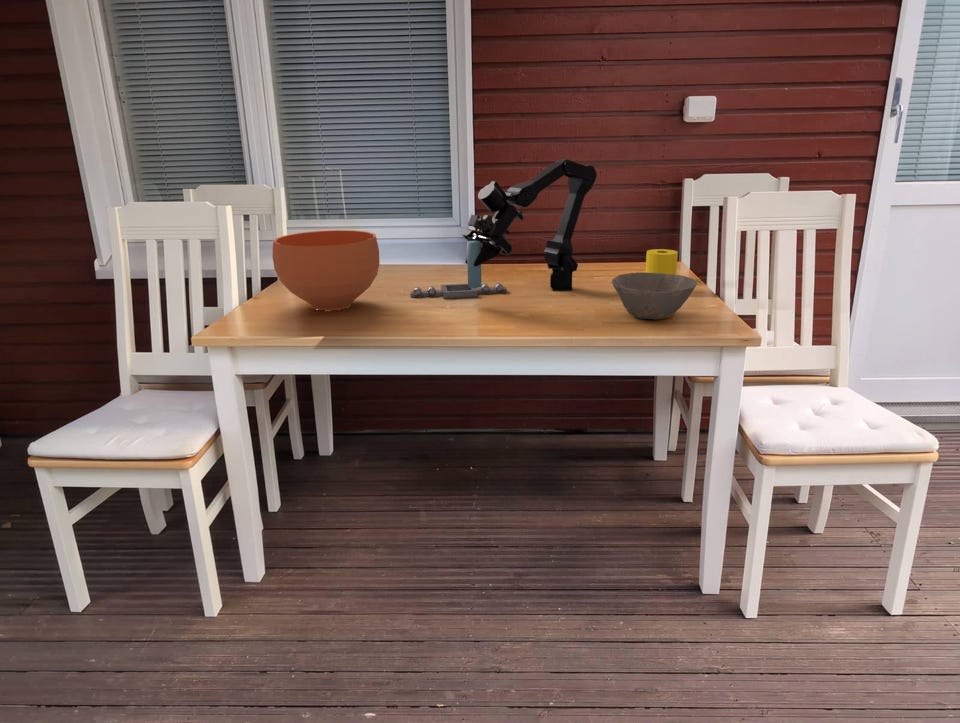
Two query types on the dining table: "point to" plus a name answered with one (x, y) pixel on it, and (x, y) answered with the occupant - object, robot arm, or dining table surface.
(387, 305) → the dining table surface
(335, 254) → the flowerpot
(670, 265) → the tape roll
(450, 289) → the grey square frame handle
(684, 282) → the ceramic bowl
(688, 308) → the dining table surface
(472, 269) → the pin
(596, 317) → the dining table surface
